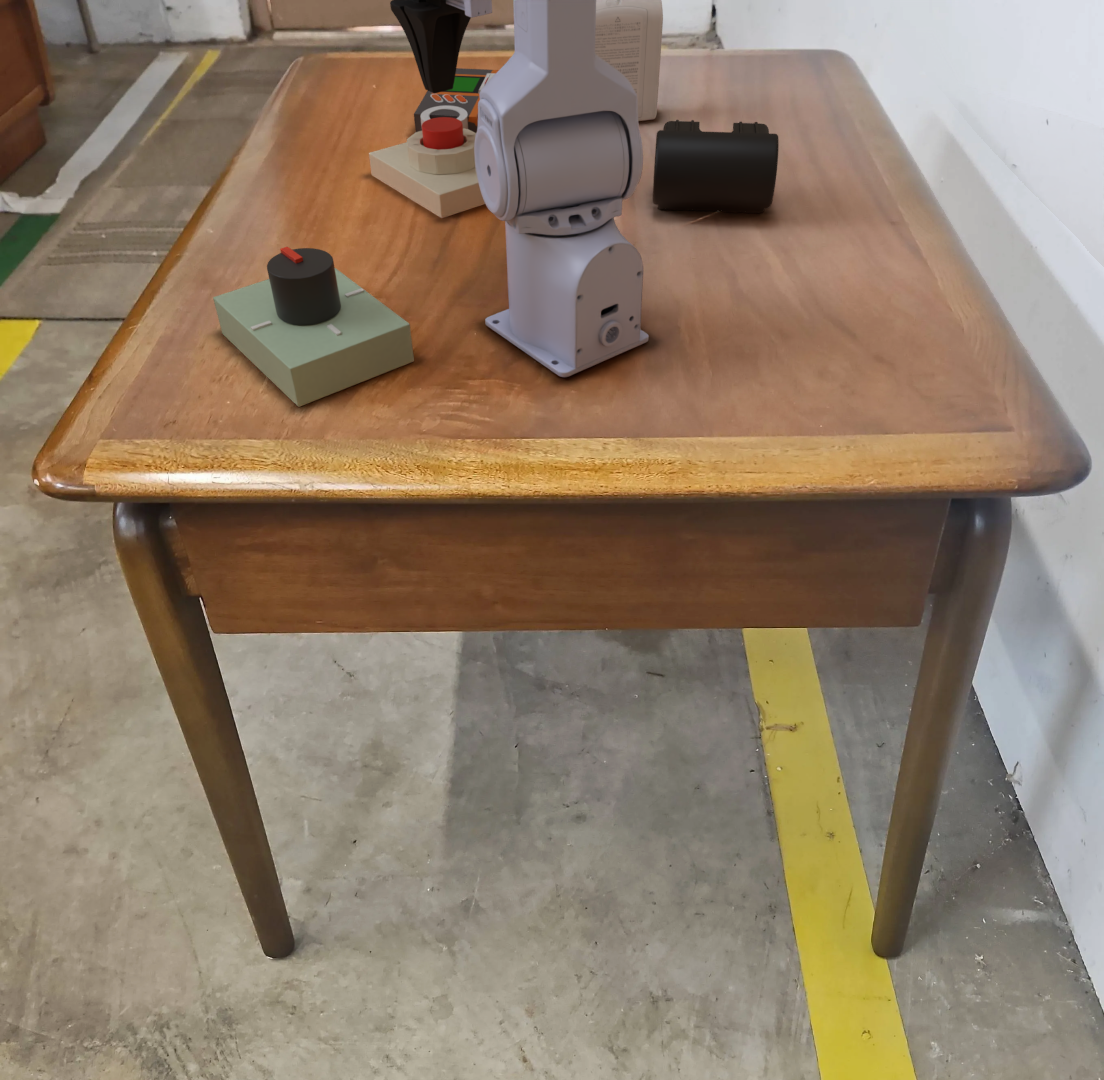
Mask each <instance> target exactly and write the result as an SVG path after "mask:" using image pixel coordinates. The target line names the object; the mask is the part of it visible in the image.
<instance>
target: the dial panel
mask: <svg viewBox="0 0 1104 1080" xmlns="http://www.w3.org/2000/svg"><path fill="white" fill-rule="evenodd" d="M335 273H336V279H337V285H338V291H339V297H340V303H341V308H340V311H339V312H338V313H337V315H335V316H334V317H333V318H331V319H329V320H327V321H324V322H321V323H318V324H313V325H293V324H289V323H286V322H284V321H282V320H281V319H280V318H279V317H278V316H277V312H276V308H275V303H274V298H273V294H272V289H271V285H270V280H269V278H267V279H265V280H261V281H257V282H255V283H253V284H249V285H246V286H243V287H240V288H237V289H234V290H231V291H228V292H225V293H222V294H219V295H216V296H213V297H212V298H213V300H212V301H213V304H214V307H215V311H216V315H217V319H218V323H219V327H220V330H221V334H222V335H223V336H224V337H225V338H226V339H227V340H228V341H229V342H230V343H231V344H232V345H233V346H234V347H235V348H236V349H237V350H238V351H239V352H241V353H242V355H244V357H246V358H247V359H248V360H249V361H250V362H251V363H252V364H253V365H254V366H255V367H256V368H257V369H258V370H259V371H260V372H261V373H262V374H263V375H264V376H265V377H267V378H268V380H270V382H272V383H273V384H274V385H275V386H276V387H277V388H278V389H279V390H280V391H281V392H282V393H283V394H284V395H285V396H286V397H288V399H289V400H290V401H292V403H294V404H295V405H296V406H297V407H303V406H305V405H307V404H310V403H312V402H315V401H318V400H320V399H322V398H326V397H327V396H330V395H333V394H336V393H339V392H341V391H343V390H345V389H349V388H350V387H353V386H355V385H358V384H360V383H363V382H366V381H368V380H371V379H373V378H375V377H378V376H381V375H384V374H386V373H388V372H391V371H394V370H396V369H398V368H401V367H403V366H406V365H408V364H411V363H414V362H415V356H414V349H413V339H412V329H411V324H410V323H409V322H408V321H406V320H405V319H404V318H403V317H401V316H400V315H399V314H397V313H396V312H395V311H393V310H392V309H391V308H390V307H388V306H387V305H386V304H384V303H383V302H382V301H380V300H379V299H378V298H376V297H375V296H373V295H372V294H371V293H369V292H368V291H367V290H366V289H364V288H363V287H361V286H360V285H359V284H357V282H355V281H353V280H352V279H351V278H350V277H348V276H347V275H345V274H344V273H343V272H342V271H340V269H338V268H337V267H335Z"/></svg>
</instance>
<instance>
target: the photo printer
mask: <svg viewBox="0 0 1104 1080" xmlns="http://www.w3.org/2000/svg"><path fill="white" fill-rule="evenodd" d="M663 25H664V9H663V1H662V0H596V31H595V54H596V55H598V56H599V57H600V58H602V59H603V60H604V61H606V62H607V63H609V64H610V65H611V66H613V67H614V68H615V69H617V70H618V71H619V72H621V73H622V74H623V75H624V76H625V77H626V78H627V79H628V81H629V82H630V83H631V85H632V87H633V89H634V90H635V92H636V94H637V99H638V122H641V121H642V122H643V121H650V120H651V121H652V120H655V119H656V118H657V113H658V101H659V100H658V99H659V87H660V86H659V85H660V69H661V59H662V58H661V56H662V40H663Z"/></svg>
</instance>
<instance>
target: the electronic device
mask: <svg viewBox="0 0 1104 1080" xmlns="http://www.w3.org/2000/svg"><path fill="white" fill-rule="evenodd" d="M499 70H500V69H485V68H484V69H483V68H462V67H459V68H457V67H456V74H455V80H454V85H453V89H450V90H446V91H442V92H439V93H432V92H430V91H428V90H426V92H425V94H424V96H423V98H422V99H421V101H420V102H419V105H418V106H417V107H416V110H415V111H414V113H413V120H414V129H415V133H416V132H419V131H422V124H423V123H424V122H425V121H427V120H429V119H433V118H438V117H450V118H455V119H458V120H460V121H461V122H462V124H463V129H469V130H471V131H473V132H475V133H476V132H477V127H478V102H479V100H480V94H479V93H480V91H481V89H482V88H483V87H484V86H485V84H486V83H487V82H488V81H489V80H490V79H491V78H492V77H493V76H494V75H495V74H496V73H497V72H498V71H499Z"/></svg>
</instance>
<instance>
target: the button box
mask: <svg viewBox="0 0 1104 1080" xmlns="http://www.w3.org/2000/svg"><path fill="white" fill-rule="evenodd" d="M475 136H476V133H475V132H473V131H471V130H469V129H463V138H464V144H463V145H462V146H459V147H455V148H452V149H441V150H437V149H430V148H426V147H425V146H424V144H423V134H422V131H419V132H416V131H415V132H414V133H413V134H411V135H410V136H409V137H408V138H406V141H405V142H402V143H400V144H396V145H392V146H388V147H384V148H381V149H377V150H374V151H370V152H368V158H369V166H370V174H371V176H372V177H374V178H375V179H377V180H378V181H380V182H382V183H384V184H385V185H387V186H388V187H390V188H392V189H393V190H395V191H396V192H398V193H400V194H402V195H403V196H404V197H406V198H408V199H409V200H411V201H412V202H414V203H416V204H418V205H419V206H421V207H423V208H424V209H426V210H428V212H430V213H432V214H434V215H435V216H437V217H439V218H441V219H444V218H447V217H449V216H452V215H455V214H459V213H462V212H465V211H468V210H471V209H474V208H477V207H480V206H483V205H486V204H485V202H484V199H483V197H482V194H481V191H480V187H479V183H478V179H477V173H476V167H475V156H474V143H475Z"/></svg>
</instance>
